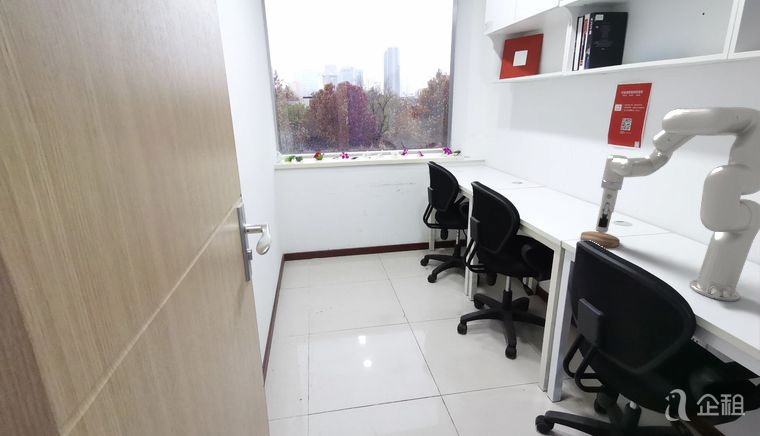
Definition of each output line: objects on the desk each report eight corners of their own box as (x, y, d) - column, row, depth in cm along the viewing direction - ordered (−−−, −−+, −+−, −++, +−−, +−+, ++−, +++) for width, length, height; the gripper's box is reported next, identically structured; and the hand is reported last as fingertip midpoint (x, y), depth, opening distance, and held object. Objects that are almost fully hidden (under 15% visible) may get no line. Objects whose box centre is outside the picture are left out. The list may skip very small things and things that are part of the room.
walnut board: (618, 250, 155) (619, 246, 155) (578, 242, 163) (579, 238, 162) (619, 239, 167) (620, 235, 167) (581, 233, 175) (582, 229, 174)
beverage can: (604, 229, 166) (610, 203, 162) (609, 233, 161) (615, 206, 157) (593, 229, 166) (598, 203, 162) (598, 232, 161) (603, 206, 158)
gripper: (621, 190, 148) (611, 232, 154) (622, 182, 162) (613, 221, 168) (600, 187, 152) (591, 229, 158) (602, 180, 166) (594, 218, 171)
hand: (602, 224), depth 163 cm, fingers closed on beverage can, 4 cm apart
